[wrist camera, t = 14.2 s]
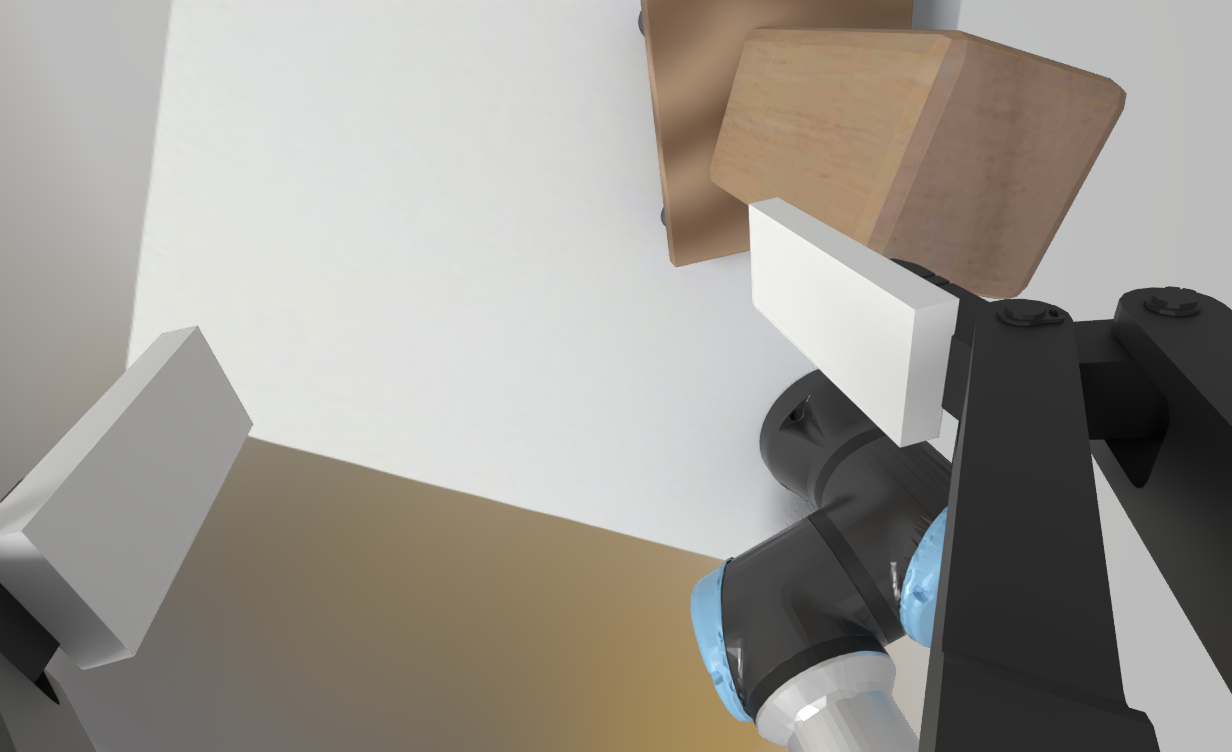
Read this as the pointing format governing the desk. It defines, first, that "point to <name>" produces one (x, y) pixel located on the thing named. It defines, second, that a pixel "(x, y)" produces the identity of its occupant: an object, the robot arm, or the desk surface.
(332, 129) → the desk surface
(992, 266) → the wooden block
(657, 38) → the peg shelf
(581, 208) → the desk surface
